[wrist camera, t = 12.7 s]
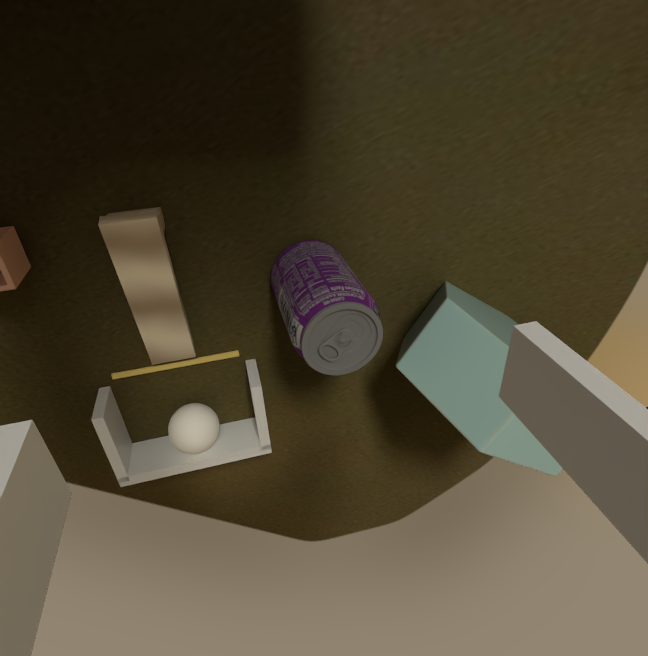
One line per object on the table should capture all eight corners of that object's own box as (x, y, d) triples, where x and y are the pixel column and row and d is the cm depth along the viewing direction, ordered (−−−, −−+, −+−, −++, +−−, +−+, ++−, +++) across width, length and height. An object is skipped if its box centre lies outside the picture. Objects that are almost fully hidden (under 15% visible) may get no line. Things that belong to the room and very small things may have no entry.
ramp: (105, 204, 36) (97, 221, 32) (158, 197, 36) (156, 214, 33) (153, 357, 44) (150, 385, 40) (195, 350, 44) (196, 376, 41)
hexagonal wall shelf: (406, 326, 55) (387, 389, 36) (445, 273, 53) (448, 310, 33) (525, 407, 54) (572, 518, 35) (571, 357, 51) (649, 446, 32)
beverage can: (304, 319, 45) (337, 395, 36) (253, 275, 42) (274, 347, 32) (357, 270, 44) (406, 335, 34) (309, 221, 40) (350, 278, 30)
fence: (99, 388, 44) (91, 419, 40) (255, 358, 46) (261, 385, 43) (125, 453, 48) (120, 487, 45) (265, 423, 51) (271, 452, 48)
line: (111, 373, 43) (110, 374, 43) (238, 350, 45) (238, 351, 45) (113, 378, 43) (112, 379, 43) (239, 355, 46) (239, 356, 46)
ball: (159, 419, 43) (166, 403, 47) (171, 468, 43) (177, 447, 48) (213, 406, 43) (214, 392, 48) (224, 454, 44) (224, 435, 49)
